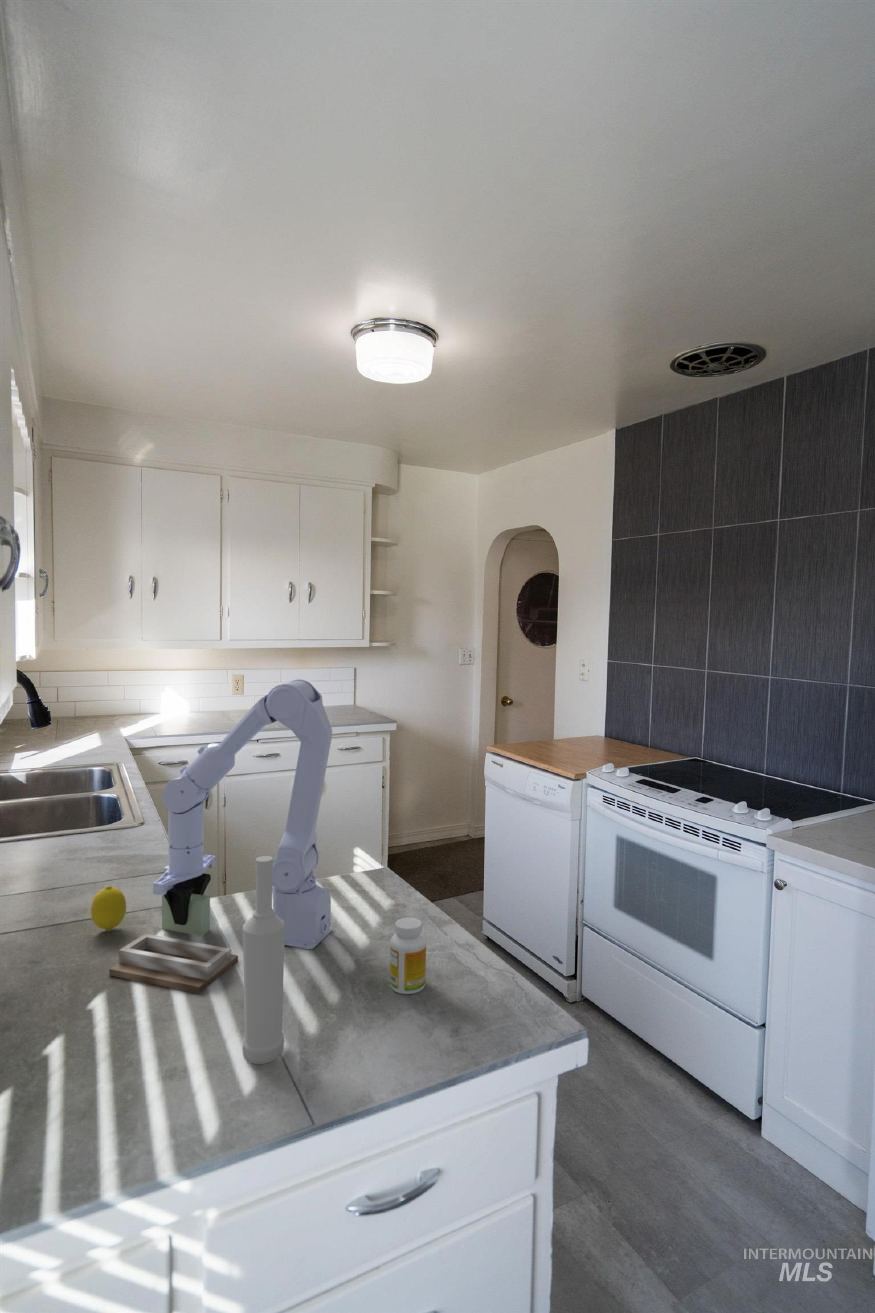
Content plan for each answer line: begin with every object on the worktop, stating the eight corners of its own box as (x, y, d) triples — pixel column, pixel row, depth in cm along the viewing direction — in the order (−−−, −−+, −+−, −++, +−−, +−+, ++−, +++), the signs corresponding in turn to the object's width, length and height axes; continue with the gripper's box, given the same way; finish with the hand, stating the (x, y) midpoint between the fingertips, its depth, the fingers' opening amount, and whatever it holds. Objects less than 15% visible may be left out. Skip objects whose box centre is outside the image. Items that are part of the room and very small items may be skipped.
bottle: (246, 1040, 90) (247, 852, 89) (286, 1039, 91) (288, 851, 89) (238, 1066, 85) (238, 866, 84) (281, 1064, 85) (282, 866, 84)
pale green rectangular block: (209, 929, 122) (210, 896, 121) (201, 935, 119) (201, 901, 119) (171, 923, 124) (171, 890, 124) (162, 929, 122) (162, 895, 121)
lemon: (112, 940, 117) (112, 893, 117) (83, 936, 118) (83, 890, 118) (133, 926, 123) (132, 881, 122) (105, 922, 124) (105, 878, 123)
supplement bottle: (430, 980, 106) (431, 918, 106) (417, 998, 101) (419, 933, 100) (397, 973, 108) (398, 912, 107) (384, 991, 103) (385, 927, 102)
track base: (238, 961, 111) (238, 943, 110) (199, 993, 101) (199, 973, 101) (154, 946, 115) (154, 928, 115) (109, 975, 106) (109, 956, 106)
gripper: (192, 829, 129) (192, 901, 130) (137, 854, 115) (138, 934, 116) (225, 833, 127) (225, 906, 128) (173, 859, 113) (173, 940, 114)
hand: (186, 920), depth 122 cm, fingers closed on pale green rectangular block, 2 cm apart
